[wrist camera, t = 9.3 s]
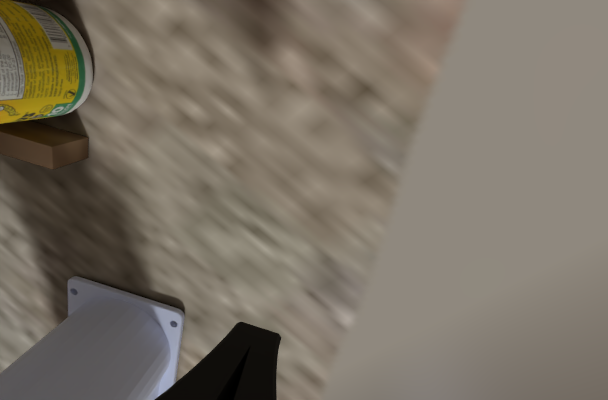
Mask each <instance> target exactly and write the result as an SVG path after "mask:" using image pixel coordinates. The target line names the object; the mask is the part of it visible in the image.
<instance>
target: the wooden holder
mask: <svg viewBox="0 0 608 400" xmlns="http://www.w3.org/2000/svg"><path fill="white" fill-rule="evenodd" d="M0 154H2V155H6V156H9V157H13V158H16V159H19V160H23V161H26V162H29V163H33V164H36V165H39V166H43V167H46V168H49V169H56V168H59V167H62V166H65V165H68V164H71V163H74V162H77V161H80V160H83V159H86V158H88V137H85V136H81V135H78V134H74V133H71V132H67V131H64V130H60V129H57V128H53V127H50V126H47V125H43V124H40V123H36V122H33V121H29V120H26V121H18V122H9V123H2V124H0Z"/></svg>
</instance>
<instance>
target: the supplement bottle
mask: <svg viewBox="0 0 608 400" xmlns="http://www.w3.org/2000/svg"><path fill="white" fill-rule="evenodd" d="M92 81H93V68H92V61H91V56H90V53H89V50H88V48H87V46H86V44H85V42H84V40H83V38H82V36H81V35H80V33H79V32H78V31H77V29H76V28H75V27H74V26H73V25H72V24H71V23H70V22H69V21H68V20H67V19H66V18H64V17H63V16H62V15H60V14H59V13H57V12H55V11H53V10H51V9H49V8H46V7H42V6H38V5H34V4H29V3H22V2H17V1H12V0H0V124H2V123H9V122H18V121H26V120H33V119H41V118H48V117H56V116H61V115H65V114H68V113H70V112H72V111H73V110H75V109H76V108H78V107H79V106H80V105H81V104H82V103H83V102H84V101H85V100H86V98H87V97H88V95H89V92H90V90H91V88H92Z"/></svg>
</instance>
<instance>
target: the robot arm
mask: <svg viewBox="0 0 608 400" xmlns="http://www.w3.org/2000/svg"><path fill="white" fill-rule="evenodd" d="M67 284H68V317H67V318H66V319H65V320H64V321H63V322H61V323H60V324H59V325H58V326H57V327H55V328H54V329H53V330H52V331H51V332H49V333H48V334H47V335H46V336H45V337H43V338H42V339H41V340H40V341H39V342H37V343H36V344H35V345H34V346H33V347H31V348H30V349H29V350H28V351H27V352H25V353H24V354H23V355H22V356H21V357H19V358H18V359H17V360H16V361H15V362H13V363H12V364H11V365H10V366H9V367H7V368H6V369H5V370H4V371H3V372H1V373H0V400H276V369H277V356H278V349H279V344H280V340H281V337H280V335H279V334H278V333H275V332H272V331H269V330H265V329H262V328H259V327H256V326H253V325H250V324H247V323H244V322H239V323H237V324H236V325H235V326H234V328H233V329H232V330H231V331H230V332H229V333H228V335H227V336H226V337H225V338H224V339H223V340H222V341H221V342H220V343H219V344H218V345H217V346H216V347H215V348H214V349H213V350H212V351H211V352H210V353H209V354H208V355H207V356H206V357H205V358H203V359H202V360H201V361H200V362H199V363H198V364H197V365H196V366H195V367H194V368H193V369H192V370H190V371H189V372H188V373H187V374H186V375H184V376H183V377H182V378H181V379H180V380H178V381H177V382H176V376H177V368H178V361H179V354H180V346H181V339H182V331H183V324H184V313H183V312H182V311H181V310H180V309H178V308H175V307H172V306H169V305H166V304H162V303H159V302H156V301H153V300H150V299H147V298H144V297H141V296H137V295H134V294H131V293H128V292H125V291H122V290H119V289H116V288H113V287H109V286H106V285H103V284H100V283H97V282H94V281H91V280H88V279H84V278H81V277H78V276H73V277H72V278H70V279H69V280H68V283H67ZM174 321H175V322H176V323H175V322H174Z"/></svg>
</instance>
